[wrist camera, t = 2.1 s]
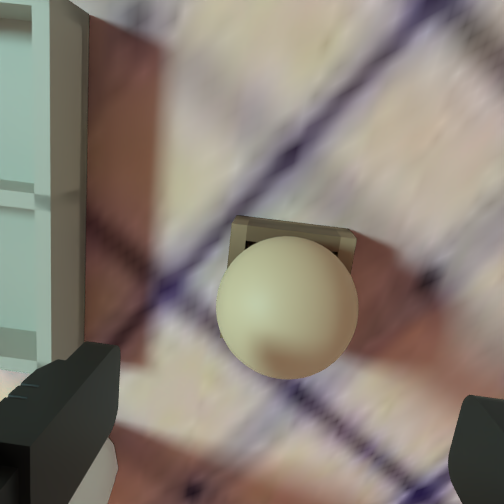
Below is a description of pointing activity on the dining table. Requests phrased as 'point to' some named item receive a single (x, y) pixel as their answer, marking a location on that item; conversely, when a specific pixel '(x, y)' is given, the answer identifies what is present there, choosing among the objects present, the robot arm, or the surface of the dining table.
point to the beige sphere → (287, 307)
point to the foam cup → (98, 478)
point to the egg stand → (260, 229)
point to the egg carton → (42, 181)
